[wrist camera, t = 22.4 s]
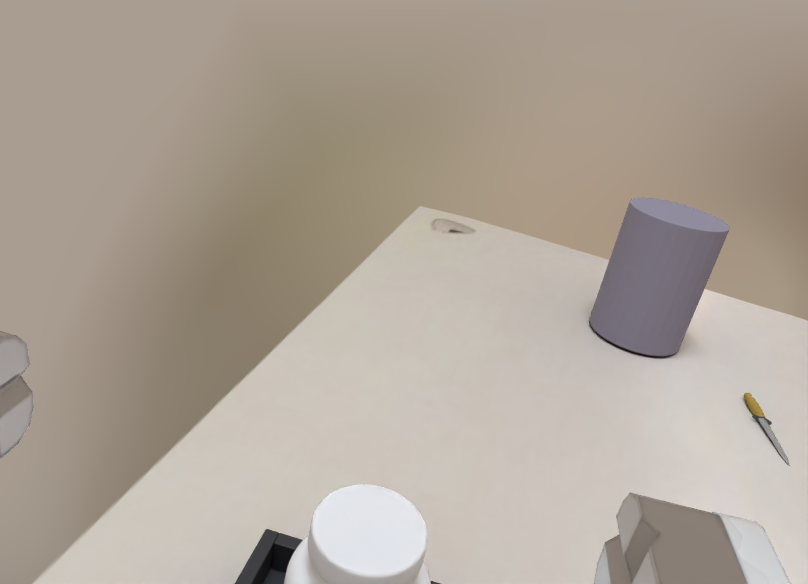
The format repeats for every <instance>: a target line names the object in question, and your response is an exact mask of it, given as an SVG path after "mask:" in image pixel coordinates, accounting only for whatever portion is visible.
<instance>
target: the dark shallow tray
mask: <svg viewBox="0 0 808 584" xmlns="http://www.w3.org/2000/svg"><path fill="white" fill-rule="evenodd" d="M302 541H303V540H301V539H298V538H294V537H291V536H288V535H285V534H282V533H278V532H275V531H272V530H269V529H266V530H265V532H264V534H263V536H262V537H261V539H260V541H259V542H258V544H257V546H256V548H255V549H254V551H253V553H252V555H251V556H250V558H249V560H248V562H247V563H246V565H245V567H244V569H243V570H242V572H241V574H240V576H239V577H238V579H237V581H236V583H235V584H284V580H285V575H286V571H287V567H288V564H289V561H290V559H291V557H292V555H293V553H294V551H295V550H296V548H297V547H298V546H299V544H300V543H301V542H302ZM431 584H440V583H437V582H433V581H431Z"/></svg>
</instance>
